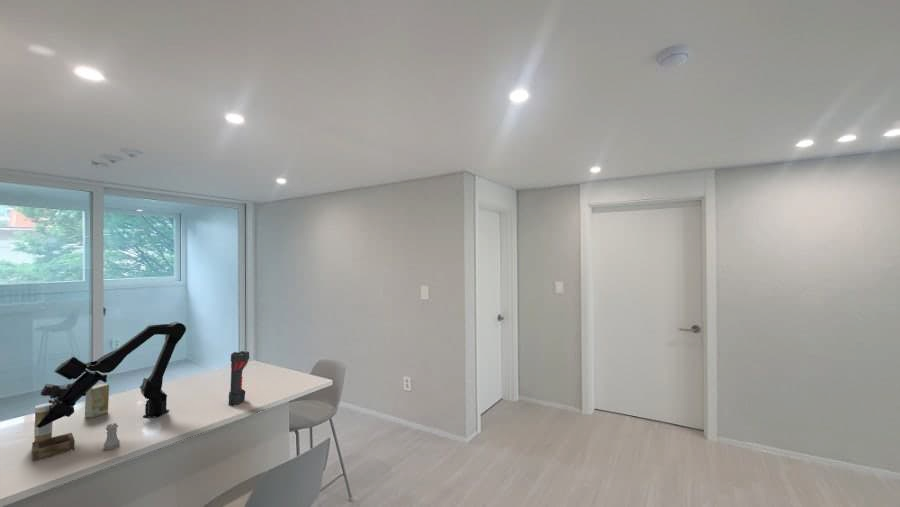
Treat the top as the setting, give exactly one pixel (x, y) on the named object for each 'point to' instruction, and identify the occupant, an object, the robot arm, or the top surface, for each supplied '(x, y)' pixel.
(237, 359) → the flashlight
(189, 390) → the top surface
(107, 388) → the skincare box
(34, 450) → the walnut holder
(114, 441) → the rook chess piece
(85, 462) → the top surface
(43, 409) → the sprinkles bottle
